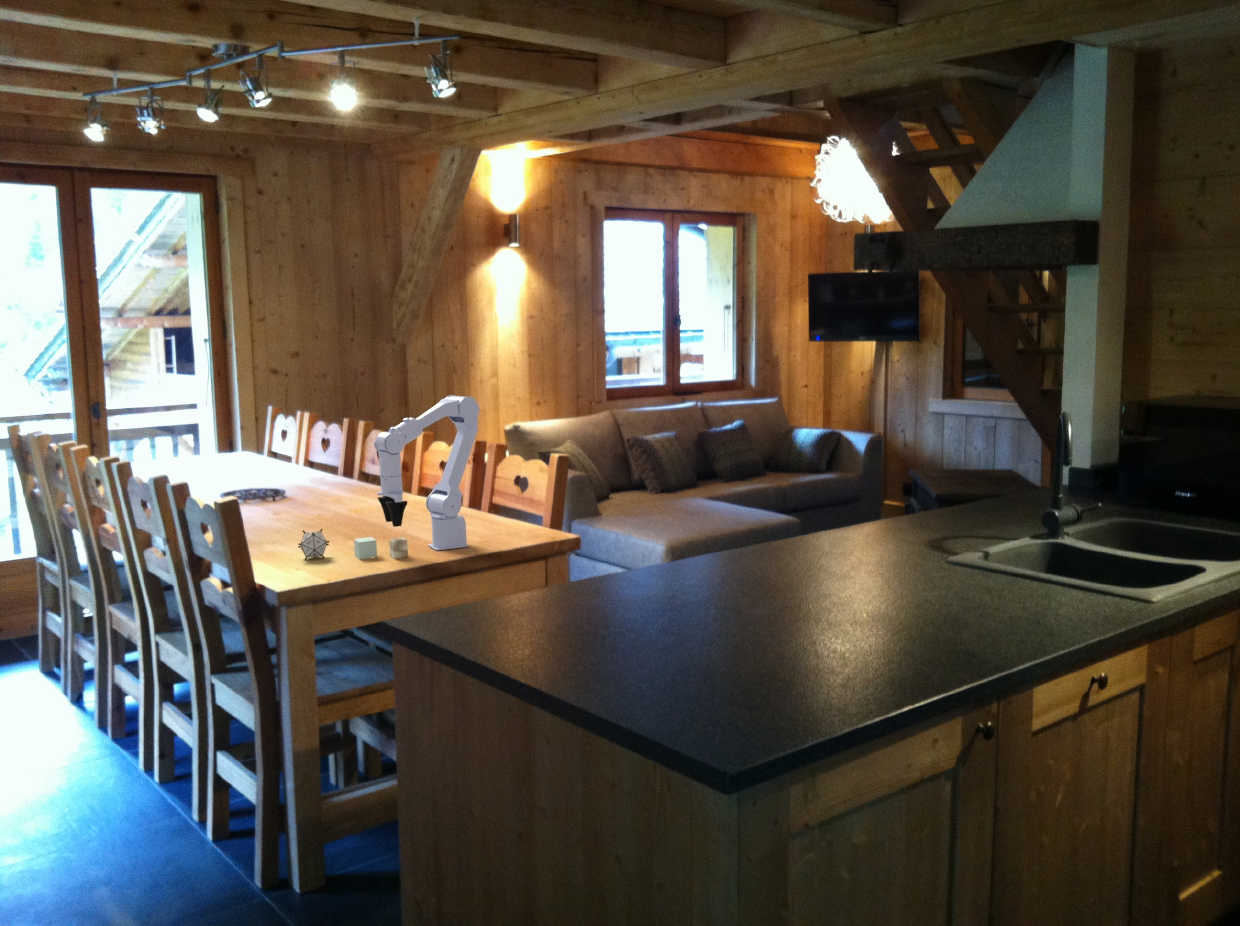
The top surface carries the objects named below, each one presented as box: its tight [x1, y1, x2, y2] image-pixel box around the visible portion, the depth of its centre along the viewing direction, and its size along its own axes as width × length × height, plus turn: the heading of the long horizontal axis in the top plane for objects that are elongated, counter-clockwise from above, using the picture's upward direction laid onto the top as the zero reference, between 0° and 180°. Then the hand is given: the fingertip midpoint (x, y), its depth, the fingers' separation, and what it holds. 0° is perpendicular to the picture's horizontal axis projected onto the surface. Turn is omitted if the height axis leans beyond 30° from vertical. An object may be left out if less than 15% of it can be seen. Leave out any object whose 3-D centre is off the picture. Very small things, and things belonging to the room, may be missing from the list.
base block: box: [353, 536, 378, 560], centre depth 303 cm, size 5×5×5 cm
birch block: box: [388, 536, 409, 560], centre depth 302 cm, size 4×4×5 cm
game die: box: [297, 528, 330, 561], centre depth 302 cm, size 9×8×10 cm
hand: (393, 523), depth 301 cm, fingers open, 7 cm apart
